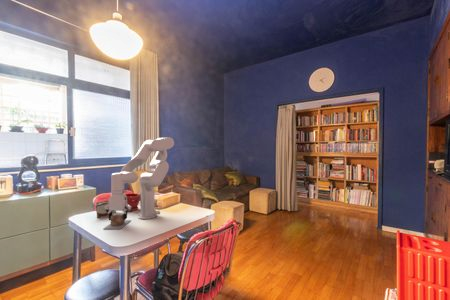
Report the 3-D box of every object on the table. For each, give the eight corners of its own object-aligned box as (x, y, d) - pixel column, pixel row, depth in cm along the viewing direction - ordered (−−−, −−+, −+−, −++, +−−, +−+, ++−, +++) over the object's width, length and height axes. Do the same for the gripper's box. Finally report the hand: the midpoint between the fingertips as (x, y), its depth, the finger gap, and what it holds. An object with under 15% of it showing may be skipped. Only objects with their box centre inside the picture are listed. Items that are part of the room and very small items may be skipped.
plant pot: (124, 213, 162) (124, 197, 162) (119, 209, 171) (119, 194, 171) (142, 210, 171) (142, 195, 170) (136, 206, 180) (136, 192, 180)
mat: (130, 221, 145) (130, 220, 145) (120, 229, 130) (120, 228, 130) (115, 221, 144) (115, 220, 144) (103, 229, 129) (103, 228, 129)
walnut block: (124, 222, 140) (124, 213, 140) (120, 225, 134) (120, 216, 134) (115, 222, 140) (115, 213, 140) (110, 225, 134) (110, 216, 134)
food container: (109, 212, 163) (109, 199, 162) (113, 214, 159) (113, 200, 159) (91, 217, 152) (91, 203, 152) (95, 218, 149) (95, 204, 149)
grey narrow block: (117, 211, 166) (117, 202, 166) (113, 214, 160) (113, 204, 160) (109, 211, 166) (109, 202, 166) (105, 214, 160) (105, 204, 160)
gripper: (134, 191, 141) (133, 217, 141) (107, 191, 141) (107, 217, 141) (129, 193, 133) (129, 221, 133) (100, 193, 133) (100, 221, 133)
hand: (117, 219), depth 137 cm, fingers open, 8 cm apart
